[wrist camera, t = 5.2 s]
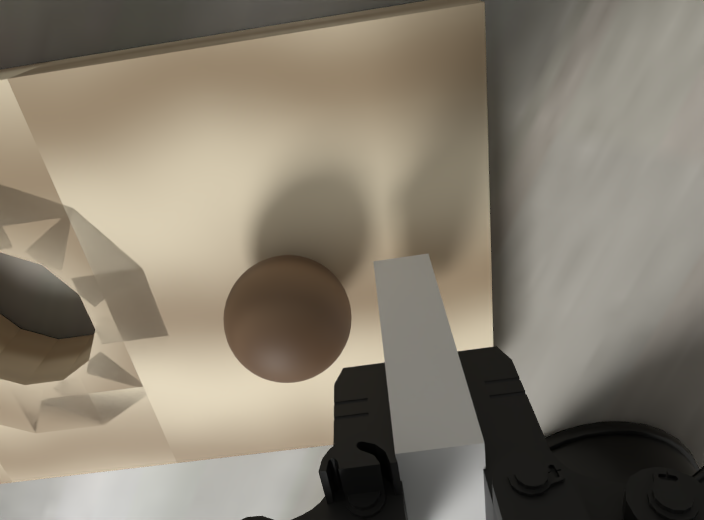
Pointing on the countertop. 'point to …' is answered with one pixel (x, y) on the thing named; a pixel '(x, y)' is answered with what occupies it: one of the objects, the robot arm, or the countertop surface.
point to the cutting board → (231, 222)
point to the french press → (621, 451)
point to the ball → (287, 319)
